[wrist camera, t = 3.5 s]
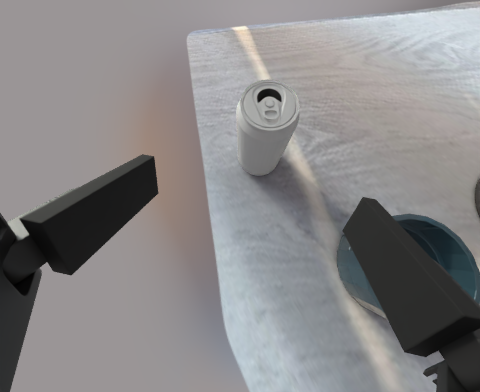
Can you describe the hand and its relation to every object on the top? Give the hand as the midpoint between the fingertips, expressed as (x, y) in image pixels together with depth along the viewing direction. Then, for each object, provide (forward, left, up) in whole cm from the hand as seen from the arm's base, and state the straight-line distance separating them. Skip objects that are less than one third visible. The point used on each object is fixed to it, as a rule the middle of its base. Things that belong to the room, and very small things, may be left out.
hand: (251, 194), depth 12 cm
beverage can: (-3, -9, -15) cm, 18 cm away
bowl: (-17, +9, -15) cm, 25 cm away
